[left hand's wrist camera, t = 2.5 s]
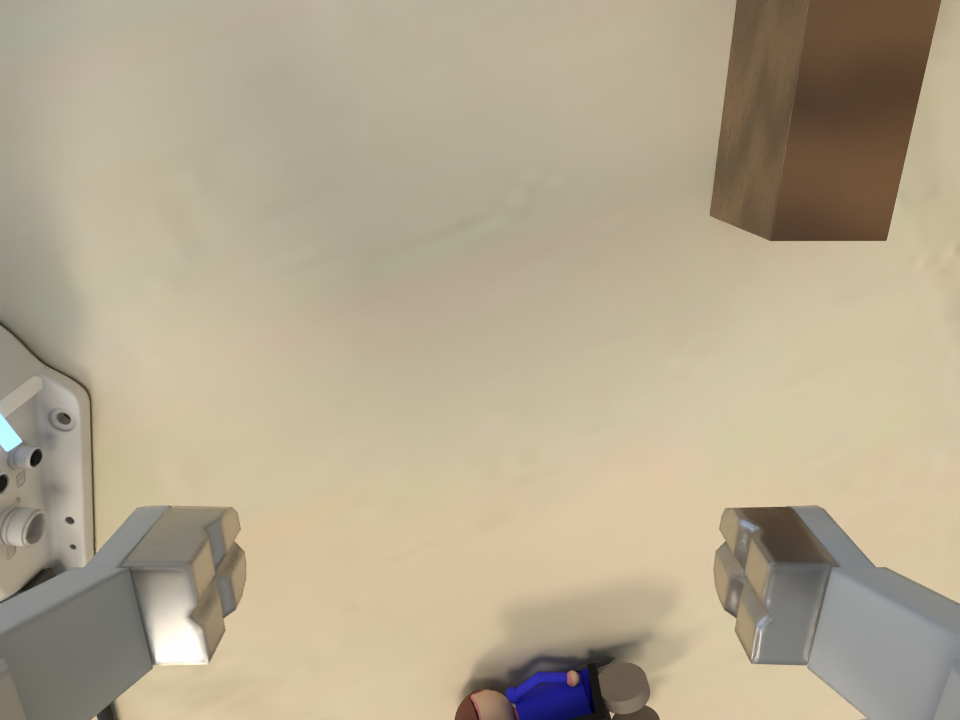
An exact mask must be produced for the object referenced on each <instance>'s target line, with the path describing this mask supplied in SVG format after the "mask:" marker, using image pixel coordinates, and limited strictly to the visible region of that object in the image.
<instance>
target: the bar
mask: <svg viewBox="0 0 960 720" xmlns="http://www.w3.org/2000/svg"><path fill="white" fill-rule="evenodd" d="M940 3H941V0H737V5H736V13H735V21H734V29H733V37H732V45H731V53H730V61H729V69H728V77H727V85H726V93H725V100H724V108H723V116H722V124H721V132H720V140H719V148H718V156H717V164H716V172H715V180H714V188H713V196H712V204H711V211H710V216H712V217H714V218H717V219H719V220H722V221H724V222H726V223H729V224H731V225H734V226H736V227H738V228H741V229H743V230H746V231H748V232H750V233H753V234H755V235H757V236H760V237H762V238H765V239H767V240H769V241H886V240H887V236H888V232H889V227H890V223H891V219H892V214H893V210H894V205H895V201H896V197H897V192H898V188H899V183H900V179H901V175H902V170H903V166H904V161H905V157H906V152H907V148H908V144H909V139H910V135H911V130H912V126H913V122H914V117H915V113H916V108H917V104H918V100H919V95H920V91H921V86H922V82H923V78H924V73H925V69H926V64H927V60H928V56H929V51H930V47H931V42H932V38H933V34H934V29H935V25H936V20H937V16H938V11H939V7H940Z"/></svg>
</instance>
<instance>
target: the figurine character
mask: <svg viewBox="0 0 960 720" xmlns="http://www.w3.org/2000/svg"><path fill="white" fill-rule="evenodd" d="M613 659H614V658H613V657H604V658H601V659H598V660H595V661H592V662H589V663H586V664H583V665H580V666H578V667H577V668H576V669H575V671H569V672H568V673H567V672H537V673H536V674H534V675H533V676H532V677H530V678H529V679H528V680H526V681H525V682H524V683H522V684H521V685H519V686H518V687H517V688H515V687H509V688H508V689H507V690H506V697H507V698H506V697H505V696H504V695H502V694H501V693H499V692H497V691H494V690H490V689H481V690H477V691H475V692H473V693H471V694H469V695H468V696H467V697H466V698H465V699H464V700H463V701H462V702H461V704H460V706H459V707H458V710H457V712H456V716H455V720H611V717H610V713H609V711H610V712H613V713H615V715H614V716H613V718H612V720H660V719H659V716H658V714H657V713H656V712H655V711H654V710H653V709H652V708H650V707H648V706H646V705H645V704H646V703H647V701H648V699H649V696H650V689H649V685H648V681H647V678H646V674H645V672H644V671H643V670H642V669H641V668H640V667H639V666H637V665H635V664H632V663H625V662H623V663H616V664H612V665H610V666H608V667H606V668H605V669H604V670H602V671H601V672H600V674H599V675H598V672H597V668H598V667H601V666H604V665H607V664H609V663H610V662H611V661H612V660H613ZM576 672H579V673H581V678H582V681H581V678H580V675H579V673H576ZM540 683H546V684H543V685H540V686H537V685H539V684H540ZM536 686H537V687H536ZM510 702H511V703H514V704H515V705H516V708H514V707H513V706H512V704H511V703H510Z"/></svg>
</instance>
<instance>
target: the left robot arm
mask: <svg viewBox="0 0 960 720" xmlns="http://www.w3.org/2000/svg"><path fill="white" fill-rule="evenodd" d="M64 413H66V414H68V415H69V417H70V419H71V420H70V419H68V418H66V417H65V415H64ZM240 530H241V527H240V523H239V518H238V513H237V511H236V510H235V509H234V508H233V507H204V506H173V507H172V506H143V507H139V508H137V509H136V510H135V511H134V512H133V513H132V514H131V515H130V516H129V517H128V518H127V520H126V521H125V522H124V523H123V524H122V525H121V526H120V527H119V529H118V530H117V531H116V532H115V533H114V534H113V535H112V536H111V538H110V539H109V540H108V541H107V542H106V543H105V544H104V545H103V546H102V548H101V549H100V550H99V551H98V552H97V553H96V554H95V555H94V539H93V502H92V465H91V428H90V401H89V396H88V394H87V392H86V391H85V389H84V388H83V387H82V386H80V385H79V384H78V383H76V382H75V381H74V380H72V379H70V378H68V377H67V376H65V375H63V374H61V373H59V372H57V371H55V370H53V369H51V368H49V367H47V366H45V365H44V364H43V363H42V362H40V361H39V360H38V359H37V358H36V357H35V356H34V355H32V353H31V352H30V351H29V350H28V349H27V348H26V347H25V346H24V345H23V344H22V343H21V342H20V341H19V340H18V339H17V338H16V337H14V336H13V335H12V334H11V333H10V332H9V331H7V330H6V329H5V328H4V327H2V326H1V325H0V720H91V719H92V718H94V717H95V716H96V715H97V718H98V720H114V718H113V715H112V711H111V708H110V703H112V702H113V701H114V700H115V699H116V698H118V697H119V696H120V695H121V694H122V693H124V692H125V691H126V690H127V689H128V688H130V687H131V686H132V685H133V684H134V683H136V682H137V681H138V680H139V679H140V678H142V677H143V676H144V675H145V674H146V673H148V672H149V671H150V670H151V669H152V668H153V667H152V665H181V664H209V662H210V660H211V658H212V656H213V654H214V652H215V650H216V648H217V646H218V644H219V642H220V640H221V638H222V636H223V634H224V632H225V625H224V619H223V618H225V617H226V616H227V615H229V614H230V613H232V612H233V611H235V610H236V608H237V606H238V604H239V602H240V600H241V598H242V595H243V590H244V586H245V581H246V559H245V552H244V551H243V550H242V549H241V548H240V547H239V545H238V544H237V543H236V542H235V541H234V540H235V538H236V537H237V535H238V533H239V531H240ZM719 530H720V531H721V533H722V535H723V537H724V538H725V540H726V541H725V542H724V543H723V544H722V545H721V547H720V548H719V549H718V550H717V551H716V552H715V560H714V580H715V587H716V591H717V594H718V598H719V600H720V602H721V604H722V606H723V608H724V610H725V611H727V612H728V613H730V614H731V615H733V616H734V617H735V618H737V619H736V625H735V632H736V634H737V636H738V638H739V640H740V642H741V644H742V646H743V648H744V650H745V652H746V654H747V656H748V658H749V660H750V662H751V664H778V665H808V667H807V668H808V669H809V670H810V671H812V672H813V673H814V674H815V675H816V676H818V677H819V678H820V679H821V680H822V681H824V682H825V683H826V684H827V685H828V686H830V687H831V688H832V689H833V690H834V691H836V692H837V693H838V694H839V695H840V696H841V697H843V698H844V699H845V700H846V701H847V702H849V703H850V704H851V705H852V706H853V707H855V708H856V709H857V710H858V711H859V712H861V713H862V714H863V715H864V716H865V717H867V718H868V719H869V720H960V604H959V603H957V602H955V601H953V600H951V599H949V598H947V597H945V596H943V595H941V594H939V593H937V592H935V591H933V590H931V589H929V588H927V587H925V586H923V585H921V584H919V583H917V582H914V581H912V580H910V579H908V578H906V577H904V576H902V575H900V574H898V573H896V572H894V571H892V570H890V569H888V568H886V567H875V566H874V564H873V563H872V562H871V561H870V560H869V559H868V558H867V557H866V555H865V554H864V553H863V552H862V551H861V550H860V549H859V548H858V546H857V545H856V544H855V543H854V542H853V541H852V540H851V539H850V538H849V536H848V535H847V534H846V533H845V532H844V531H843V530H842V529H841V527H840V526H839V525H838V524H837V523H836V522H835V521H834V520H833V518H832V517H831V516H830V515H829V514H828V513H827V512H826V511H825V510H824V509H823V508H821V507H819V506H817V505H811V506H786V507H750V508H725V510H724V512H723V514H722V516H721V522H720V527H719Z"/></svg>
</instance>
